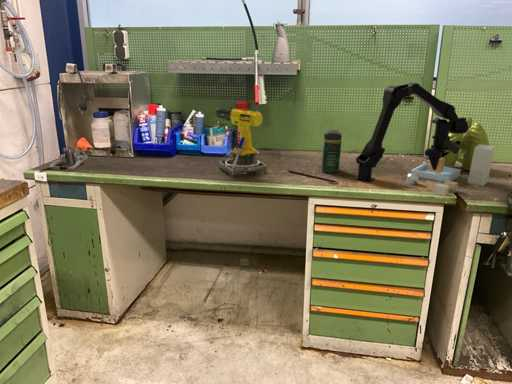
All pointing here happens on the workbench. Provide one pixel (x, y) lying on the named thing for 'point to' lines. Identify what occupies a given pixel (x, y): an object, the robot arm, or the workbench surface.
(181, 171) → the workbench surface
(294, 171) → the crowbar
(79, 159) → the bike brake
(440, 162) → the orange block
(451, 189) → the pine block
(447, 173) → the parts tray
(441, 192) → the offwhite block
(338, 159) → the coffee jar
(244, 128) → the cordless drill
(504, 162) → the workbench surface
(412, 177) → the grey metal puck
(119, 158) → the workbench surface
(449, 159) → the lungs
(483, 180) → the skincare box
